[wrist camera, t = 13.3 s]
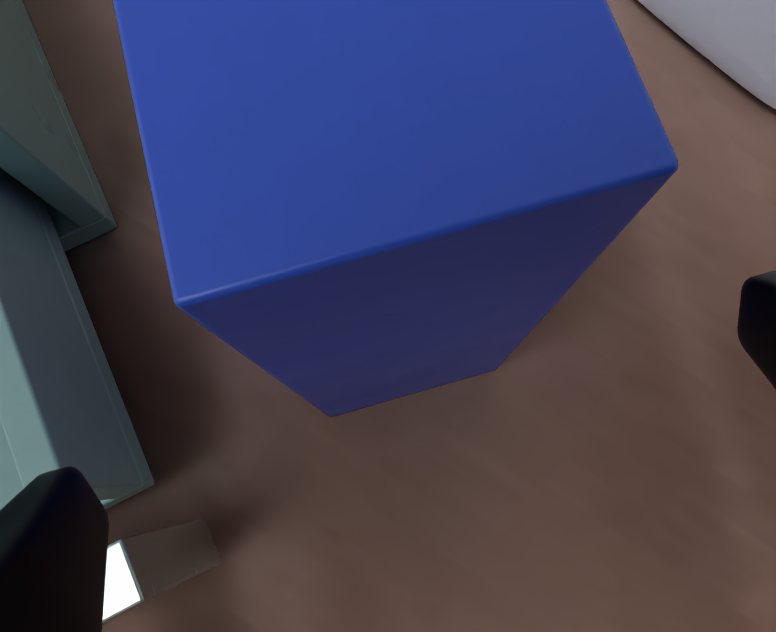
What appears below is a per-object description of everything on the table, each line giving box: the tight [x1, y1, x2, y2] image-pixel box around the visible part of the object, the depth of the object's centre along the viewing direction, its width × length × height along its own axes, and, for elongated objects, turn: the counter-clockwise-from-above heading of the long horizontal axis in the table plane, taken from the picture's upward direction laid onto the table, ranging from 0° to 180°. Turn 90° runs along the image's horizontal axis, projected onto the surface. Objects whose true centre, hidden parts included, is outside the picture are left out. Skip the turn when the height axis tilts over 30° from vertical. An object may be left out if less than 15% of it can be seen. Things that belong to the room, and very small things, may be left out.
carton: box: [113, 0, 678, 417], centre depth 12 cm, size 7×5×12 cm
